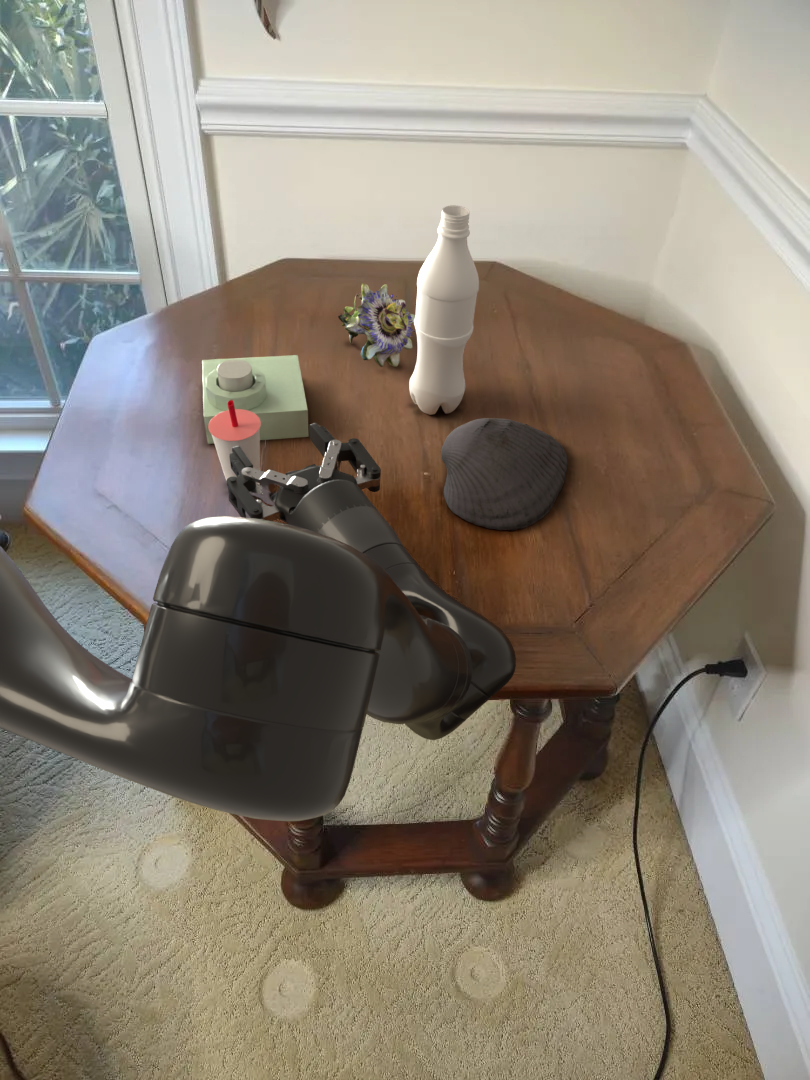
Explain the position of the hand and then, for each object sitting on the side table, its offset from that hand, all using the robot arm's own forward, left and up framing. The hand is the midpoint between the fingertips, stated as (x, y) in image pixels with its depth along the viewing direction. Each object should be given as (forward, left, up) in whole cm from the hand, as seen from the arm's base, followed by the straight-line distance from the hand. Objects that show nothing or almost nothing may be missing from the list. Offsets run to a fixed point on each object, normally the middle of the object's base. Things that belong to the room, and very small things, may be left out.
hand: (274, 441), depth 79 cm
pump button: (-4, +15, -3) cm, 16 cm away
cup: (-4, +3, -9) cm, 10 cm away
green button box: (-2, +17, -8) cm, 19 cm away
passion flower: (+15, +29, -9) cm, 34 cm away
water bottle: (+21, +16, -9) cm, 28 cm away
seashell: (+26, +1, -9) cm, 28 cm away
